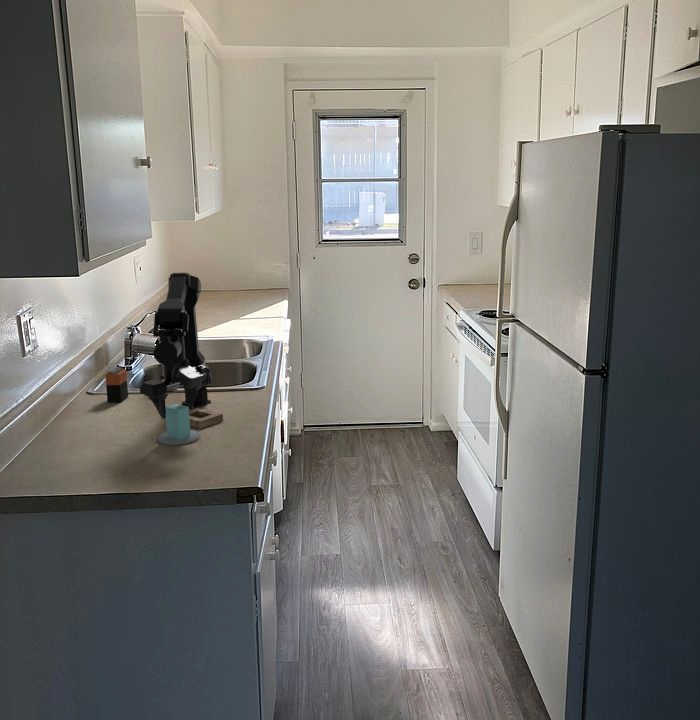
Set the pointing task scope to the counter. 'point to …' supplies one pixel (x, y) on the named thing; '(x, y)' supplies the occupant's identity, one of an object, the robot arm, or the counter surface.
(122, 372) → the battery
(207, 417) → the brown flat piece
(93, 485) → the counter surface
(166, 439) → the coaster
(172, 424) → the plug
